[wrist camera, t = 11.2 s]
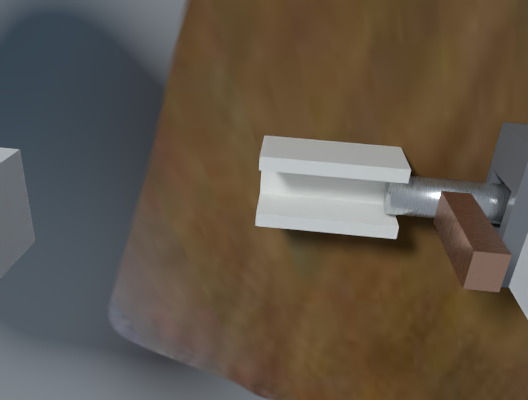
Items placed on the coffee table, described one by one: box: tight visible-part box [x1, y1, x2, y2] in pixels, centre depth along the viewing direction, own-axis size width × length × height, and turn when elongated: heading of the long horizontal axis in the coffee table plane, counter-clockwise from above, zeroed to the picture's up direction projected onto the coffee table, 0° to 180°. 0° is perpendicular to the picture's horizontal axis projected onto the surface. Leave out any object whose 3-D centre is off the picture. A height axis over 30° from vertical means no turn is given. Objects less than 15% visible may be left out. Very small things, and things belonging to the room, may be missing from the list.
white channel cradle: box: [255, 136, 411, 239], centre depth 43 cm, size 6×12×5 cm, turn 86°
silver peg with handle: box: [383, 176, 512, 292], centre depth 38 cm, size 3×16×12 cm, turn 86°
